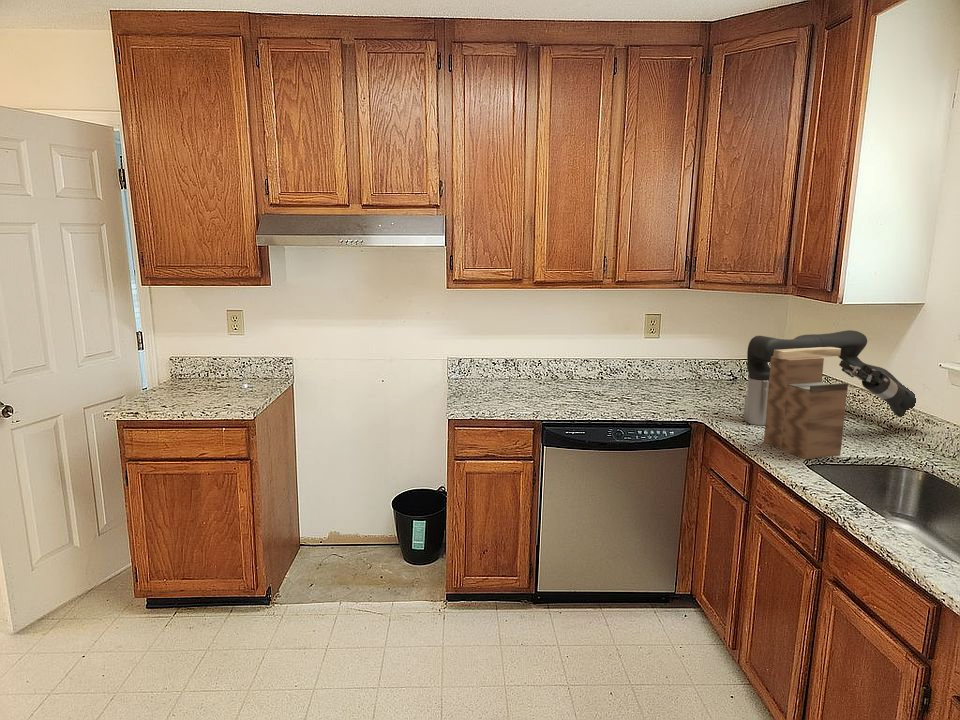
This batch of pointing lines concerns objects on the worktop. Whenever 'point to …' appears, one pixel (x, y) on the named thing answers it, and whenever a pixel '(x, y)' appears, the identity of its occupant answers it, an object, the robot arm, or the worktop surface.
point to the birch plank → (807, 352)
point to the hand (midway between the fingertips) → (851, 364)
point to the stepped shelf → (804, 409)
